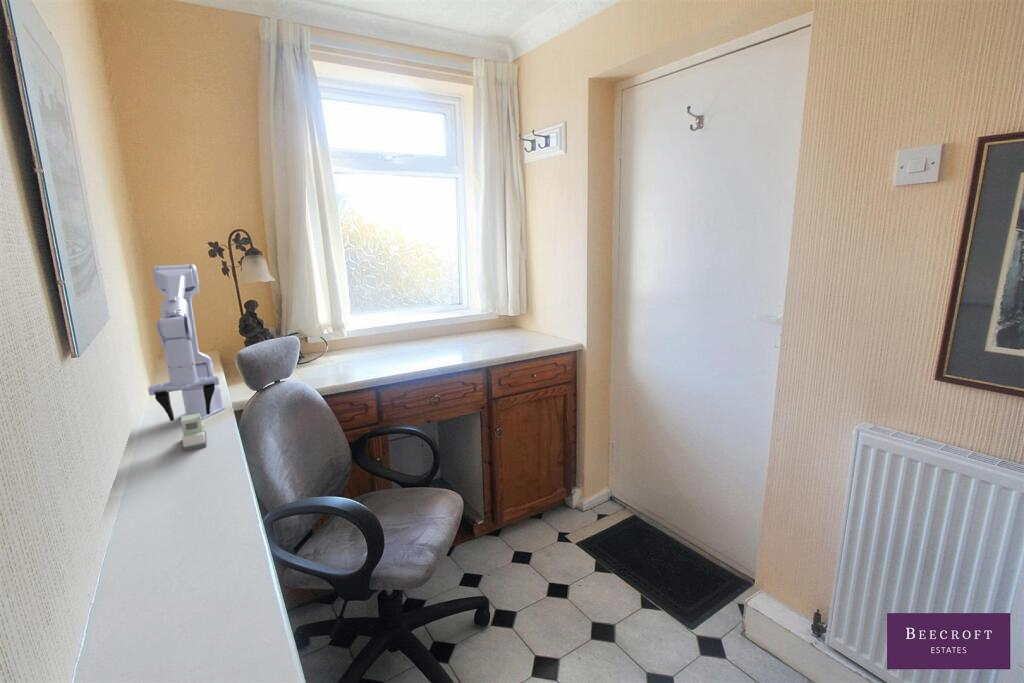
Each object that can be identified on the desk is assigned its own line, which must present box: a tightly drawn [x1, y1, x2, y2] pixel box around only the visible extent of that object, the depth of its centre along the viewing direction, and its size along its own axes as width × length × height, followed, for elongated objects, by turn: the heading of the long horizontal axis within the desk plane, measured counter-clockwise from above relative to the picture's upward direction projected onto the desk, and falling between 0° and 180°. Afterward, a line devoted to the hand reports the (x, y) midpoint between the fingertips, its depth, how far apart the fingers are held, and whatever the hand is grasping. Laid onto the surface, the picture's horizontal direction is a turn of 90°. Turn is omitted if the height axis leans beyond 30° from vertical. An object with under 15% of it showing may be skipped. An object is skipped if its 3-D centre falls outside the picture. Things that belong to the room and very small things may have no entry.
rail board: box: [181, 422, 207, 452], centre depth 123 cm, size 9×5×3 cm, turn 32°
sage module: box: [180, 413, 203, 436], centre depth 122 cm, size 4×4×6 cm
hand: (190, 416), depth 122 cm, fingers open, 7 cm apart
